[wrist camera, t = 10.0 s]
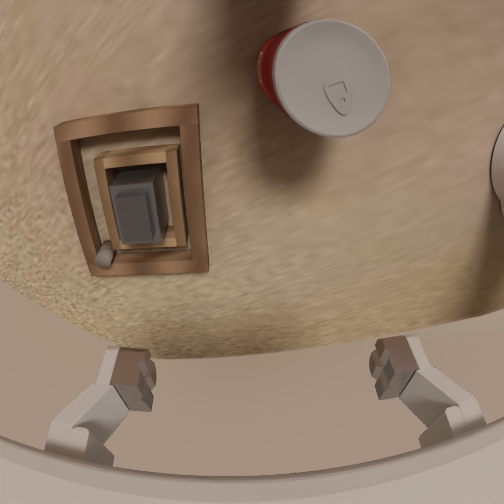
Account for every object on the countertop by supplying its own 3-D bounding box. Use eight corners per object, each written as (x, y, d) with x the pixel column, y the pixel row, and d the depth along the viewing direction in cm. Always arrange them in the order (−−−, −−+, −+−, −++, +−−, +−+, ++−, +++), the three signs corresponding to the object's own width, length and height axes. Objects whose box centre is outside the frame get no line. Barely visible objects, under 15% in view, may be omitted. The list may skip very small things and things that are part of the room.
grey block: (162, 163, 30) (150, 185, 25) (168, 216, 33) (160, 247, 29) (123, 167, 30) (106, 190, 25) (133, 219, 33) (120, 249, 28)
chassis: (198, 103, 27) (196, 108, 25) (209, 260, 37) (208, 277, 35) (62, 122, 26) (48, 129, 24) (96, 265, 36) (88, 281, 34)
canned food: (290, 125, 29) (324, 161, 20) (236, 62, 25) (244, 64, 16) (352, 81, 27) (411, 98, 18) (302, 15, 23) (345, -3, 14)
